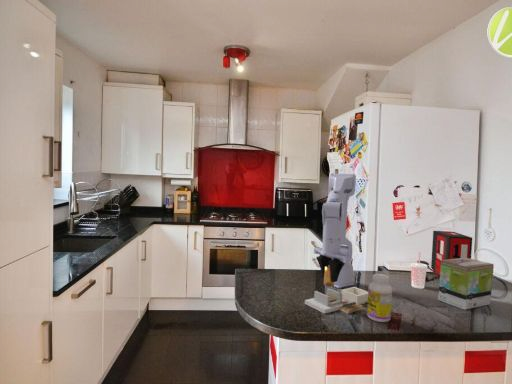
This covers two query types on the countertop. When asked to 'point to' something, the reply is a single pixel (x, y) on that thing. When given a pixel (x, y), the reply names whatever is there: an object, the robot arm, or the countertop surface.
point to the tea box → (465, 283)
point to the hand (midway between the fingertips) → (329, 279)
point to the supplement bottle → (379, 298)
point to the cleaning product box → (449, 248)
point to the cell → (327, 276)
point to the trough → (351, 307)
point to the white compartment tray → (326, 301)
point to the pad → (332, 299)
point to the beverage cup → (418, 274)
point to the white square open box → (355, 295)
